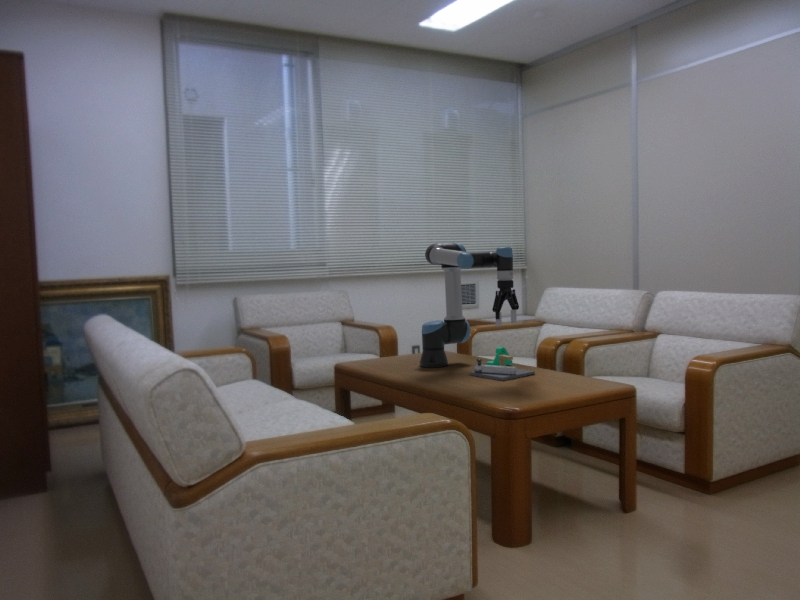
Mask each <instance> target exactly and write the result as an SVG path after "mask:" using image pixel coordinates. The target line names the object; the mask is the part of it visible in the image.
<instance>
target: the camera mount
mask: <svg viewBox="0 0 800 600" xmlns="http://www.w3.org/2000/svg"><path fill="white" fill-rule="evenodd" d="M495 354H496V355H495V357H494V359H493V360H490V361H485V365H496V366H500V362H499V355H507V356H510V354H509V352H508V350H507V349H506V347H504V346H497V347H496V349H495ZM509 365H513V360H505V366H509Z"/></svg>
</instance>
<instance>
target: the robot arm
mask: <svg viewBox="0 0 800 600" xmlns="http://www.w3.org/2000/svg"><path fill="white" fill-rule="evenodd" d="M424 256H425V259H426V261H427V263H428V264H430V265H434V266H441V270H442V271H443V272H444V289H445V290H444V291H445V311H446V312H445V313H446V314H445V315H446V316H445V317H444V319H443V320H439V319H438V320H431V321H427V322H424V323H423V324H422V326H421V345H422V353H421V357H420V360H419V367H422V366H423V367H424V368H444V367H447V366H449V359H448V357H447V354H446V350H445V345H453V344H458V345H459V344H462V343H465V342H466V341H468V340H469V339H470V335H471V325H470V323H469V322H468V321H467V320H466V317H465V316H464V315H463V299H462V298H463V297H462V278H461V277H462V276H461V275H462V273H461V271H462V270H468V269H486V268H488V269H490V268H496V279H497V281H496V283H497V284H496V285H497V286H496V287H497V289H499V290H496V291H495V296H494V301H493V306H492V309H491V311H492V312H493V313H495V327H502V326H503V325H502V323H503V322H502V319H503V318H502V308H503V306H504V303H505V302H506V300H507V302H508V305H509V306H510V324H517V323H518V322H517V320H518V319H517V311H518V310H519V309H520V305H519V302H518V297H517V294H516V289H513V288H514V254H513V248H512V247H511V246H502V247H501V246H500V247H497V248H496V251H481V252H480V251H478V252H469V251H467V250H466V247H465V246H464V245H463V244H462V243H459V242H444V243H443V242H442V243H441V242H439V243H438V242H437V243H433V244H430V245H429V246H428V247H427V248H426V250H425V253H424ZM443 366H444V367H443ZM423 367H422V368H423Z"/></svg>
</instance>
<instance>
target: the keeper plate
mask: <svg viewBox="0 0 800 600" xmlns="http://www.w3.org/2000/svg"><path fill="white" fill-rule="evenodd" d="M505 360H512V361H513V360H514V356H511V355H509V356H507V355H499V362H500V366H505ZM468 373H469V376H472V375H473V377H477V376H478V378H483V377H484V379H488V378H489V380H494V379H495V380H496V381H500V380H501V382H504V381H503V380H505V381H509V380H508V379H510V380H514V379H513V378H515V379H519V378H518V377H520V378H523V377H522V376H525V377H528V376H527V375H530V376H532V375H531V374H535V375H536V371H534V370H529V369H521V368H516V373H515V374H513V375H512V374H498V373H484V372H474V370H472V371H469V372H468Z"/></svg>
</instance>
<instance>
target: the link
mask: <svg viewBox="0 0 800 600" xmlns="http://www.w3.org/2000/svg"><path fill="white" fill-rule="evenodd" d="M476 362H477V364H474V365H473V367H474V369H473V371H474V372H484V373H498V374H512V375H513V374H515V373H516V369H517V366H509V365H507V366H496V365H486V364H482V362H483V358H477V359H476Z"/></svg>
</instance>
